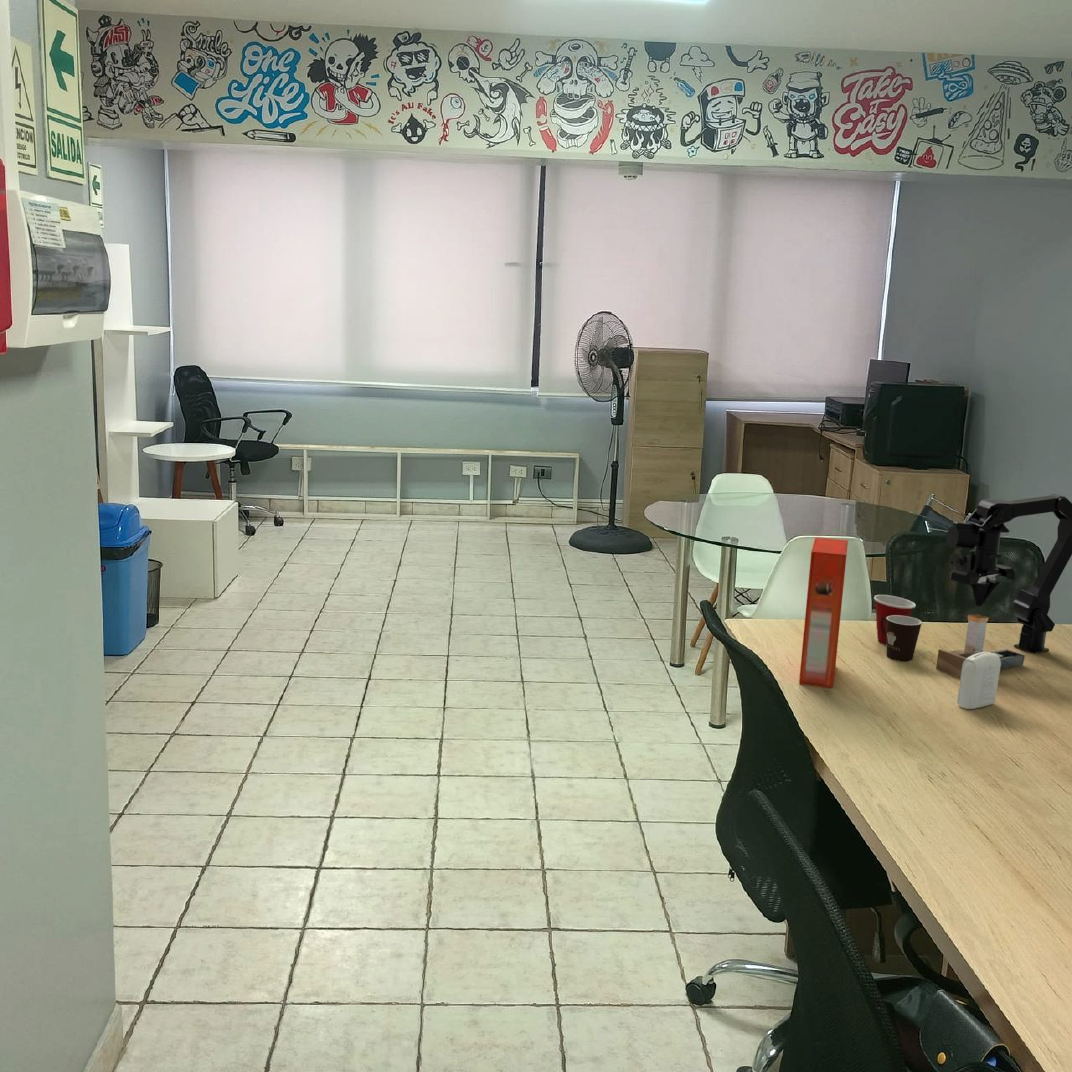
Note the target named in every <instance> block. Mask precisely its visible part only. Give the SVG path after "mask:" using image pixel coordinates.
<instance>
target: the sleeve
mask: <svg viewBox="0 0 1072 1072" xmlns="http://www.w3.org/2000/svg"><path fill="white" fill-rule="evenodd" d="M993 652H994V653H997V654H1000V655H1003V656H1004V657H1003V658H1000V661H1001V666H1000V671H1002V670H1007V669H1014V668H1019V667H1023V666H1024V662H1025V654H1022V653H1018V652H1016V651H1014V650H1013V651H1012V650H1010V649H1001V650H995V651H990V653H993Z"/></svg>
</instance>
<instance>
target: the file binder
mask: <svg viewBox="0 0 1072 1072" xmlns="http://www.w3.org/2000/svg"><path fill="white" fill-rule="evenodd" d="M848 544H849V541H848V540H847V539H837V538H829V537H828V538H827V537H815V538H814V541H813V545H812V549H811V550H810V562H809V572H808V583H807V584H808V585H807V594H806V606H805V607H806V608H805V617H804V627H803V638H802V647H801V648H802V649H801V657H800V658H801V660H800V671H799V680H798V681H799V682H798V683H799V685H807V686H814V687H822V688H829V689H831V688H833V687H834V683H835V673H836V663H837V657H838V656H837V654H838V645H839V633H840V625H841V624H840V623H841V614H842V604H843V597H844V596H843V595H844V594H843V593H844V585H845V577H846V565H847V556H848V555H847V554H848V553H847V552H848Z"/></svg>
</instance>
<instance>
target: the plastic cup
mask: <svg viewBox="0 0 1072 1072" xmlns="http://www.w3.org/2000/svg"><path fill="white" fill-rule="evenodd" d="M873 599H874V602H875V617H876V618H875V619H876V621H875V623H876V633H877V634H876V635H877V641H878V643H879V644H882V645H885V646H886V637H885V635H884V634H883V632H882V630H881V627H880V622H881V619H883V618H886V617H888V616H892V615H900V616H908V617H911V616H910V615H911V614H912V612H913V610H914V609H915V608H916V606H917V605H916V603H915V602H914V601H911V600H909V599H906V598H903V597H901V596H900V597H899V596H895V595H889V594H877V595H876V594H875V595H874V597H873ZM883 629H884V631H885V633H886V620H884V621H883Z"/></svg>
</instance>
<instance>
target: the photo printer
mask: <svg viewBox="0 0 1072 1072" xmlns="http://www.w3.org/2000/svg"><path fill="white" fill-rule="evenodd" d="M990 652H991V651H990ZM990 652H989V651H983V652H980V653H977V654H974V655H972V656H970V657H968V658H967V659H966V660H965V661H964V662H963V665H962V672H961V678H960V680H959V685H958V686H959V688H958V693H957V701H956V702H957V703H956V704H957V705H958V706H959V707H960V708H962V709H965V710H975V709H978V708H983V707H987V706H991V705H994V704H995V702H996V698H997V694H998V693H997V692H998V686H999V679H1000V673H1001V672H1000V671H1001V670H1000V666H1001V661H1000V658H999V656H998V655H996V654H993V653H990Z"/></svg>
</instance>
